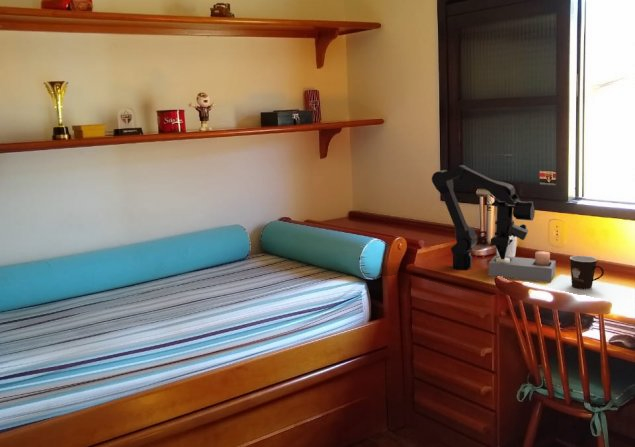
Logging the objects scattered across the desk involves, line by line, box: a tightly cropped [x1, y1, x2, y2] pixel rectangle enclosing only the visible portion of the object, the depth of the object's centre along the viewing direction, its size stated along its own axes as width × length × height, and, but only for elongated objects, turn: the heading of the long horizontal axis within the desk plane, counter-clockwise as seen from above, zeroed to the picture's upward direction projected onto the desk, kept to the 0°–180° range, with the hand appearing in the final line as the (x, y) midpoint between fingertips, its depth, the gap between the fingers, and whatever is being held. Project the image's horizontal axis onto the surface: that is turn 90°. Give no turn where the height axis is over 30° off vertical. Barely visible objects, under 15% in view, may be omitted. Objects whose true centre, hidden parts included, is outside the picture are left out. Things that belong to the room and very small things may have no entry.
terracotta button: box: [534, 250, 551, 266], centre depth 233 cm, size 5×5×4 cm
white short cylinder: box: [496, 257, 510, 263], centre depth 240 cm, size 5×5×4 cm
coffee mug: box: [569, 255, 605, 290], centre depth 219 cm, size 12×9×10 cm
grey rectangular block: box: [488, 254, 556, 283], centre depth 237 cm, size 22×12×5 cm, turn 64°
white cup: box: [495, 236, 518, 257], centre depth 256 cm, size 8×8×10 cm
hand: (502, 259), depth 240 cm, fingers closed, pressing on white short cylinder
